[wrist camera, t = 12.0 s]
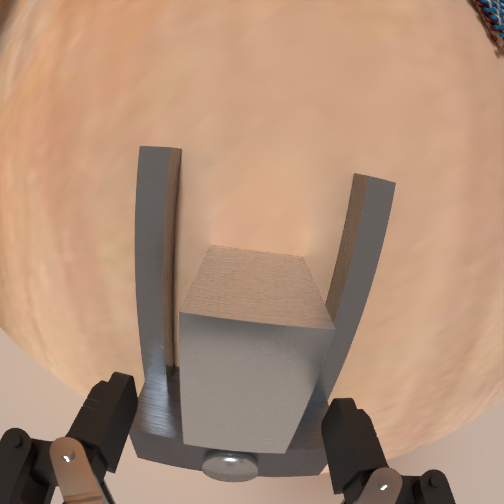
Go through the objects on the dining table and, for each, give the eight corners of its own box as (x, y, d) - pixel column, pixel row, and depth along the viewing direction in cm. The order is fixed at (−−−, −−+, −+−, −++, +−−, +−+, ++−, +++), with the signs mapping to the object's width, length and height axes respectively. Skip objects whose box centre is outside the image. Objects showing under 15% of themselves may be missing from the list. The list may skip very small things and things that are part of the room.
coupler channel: (157, 397, 19) (134, 466, 12) (154, 147, 13) (81, 143, 7) (308, 414, 19) (320, 484, 13) (378, 179, 14) (458, 198, 7)
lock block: (202, 362, 18) (184, 446, 11) (210, 244, 15) (179, 311, 8) (275, 370, 18) (283, 456, 11) (302, 256, 15) (335, 329, 9)
